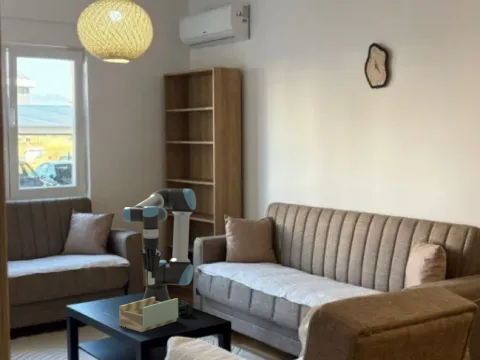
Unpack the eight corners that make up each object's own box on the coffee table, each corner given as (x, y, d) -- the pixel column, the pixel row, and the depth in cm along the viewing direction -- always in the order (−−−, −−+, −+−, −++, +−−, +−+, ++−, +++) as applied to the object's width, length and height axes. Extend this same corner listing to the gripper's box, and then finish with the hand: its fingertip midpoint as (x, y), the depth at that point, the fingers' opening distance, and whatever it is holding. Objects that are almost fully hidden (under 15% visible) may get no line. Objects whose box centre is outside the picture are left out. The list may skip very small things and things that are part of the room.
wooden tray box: (154, 315, 344) (153, 296, 343) (176, 320, 334) (176, 301, 333) (119, 325, 325) (119, 306, 324) (141, 332, 315) (141, 311, 314)
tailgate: (176, 317, 334) (176, 297, 333) (178, 317, 333) (177, 298, 332) (142, 328, 315) (142, 307, 314) (144, 328, 314) (143, 307, 314)
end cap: (193, 316, 343) (193, 303, 343) (180, 317, 340) (180, 305, 340) (185, 311, 352) (185, 299, 352) (173, 313, 349) (173, 300, 348)
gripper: (136, 236, 326) (136, 283, 328) (155, 239, 318) (155, 287, 320) (146, 235, 332) (147, 281, 334) (165, 237, 324) (166, 284, 325)
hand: (151, 284), depth 327 cm, fingers closed
